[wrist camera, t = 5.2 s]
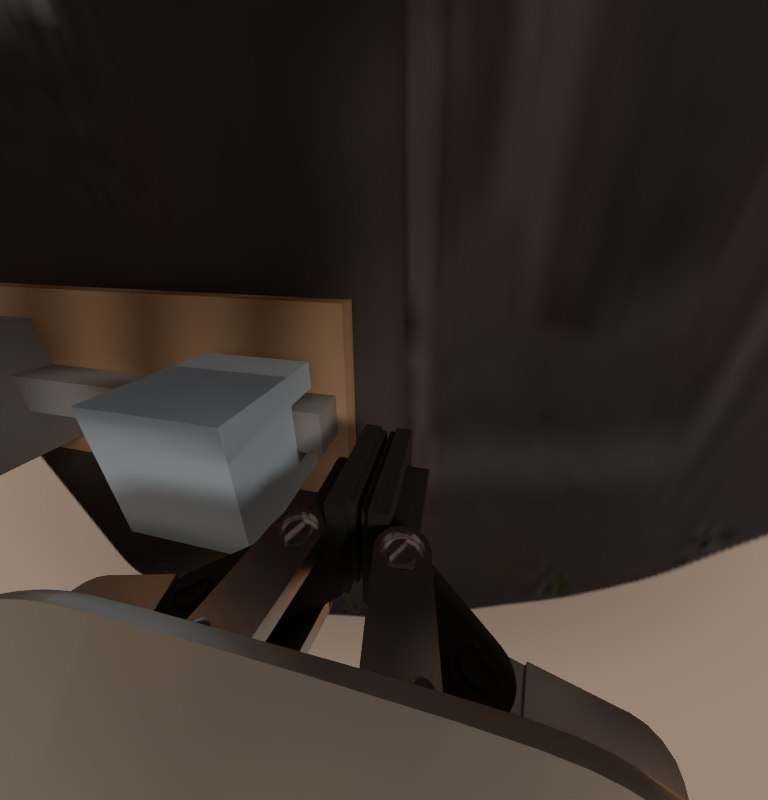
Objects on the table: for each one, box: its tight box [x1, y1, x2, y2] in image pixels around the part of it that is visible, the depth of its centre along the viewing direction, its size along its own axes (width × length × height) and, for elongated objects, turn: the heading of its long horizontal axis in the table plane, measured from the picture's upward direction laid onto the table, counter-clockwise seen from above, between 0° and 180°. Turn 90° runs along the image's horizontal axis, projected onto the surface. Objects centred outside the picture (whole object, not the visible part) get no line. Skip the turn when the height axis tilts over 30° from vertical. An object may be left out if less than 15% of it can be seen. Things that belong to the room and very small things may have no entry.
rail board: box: [0, 283, 356, 492], centre depth 16 cm, size 20×10×3 cm, turn 89°
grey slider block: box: [70, 353, 318, 554], centre depth 12 cm, size 5×5×6 cm
